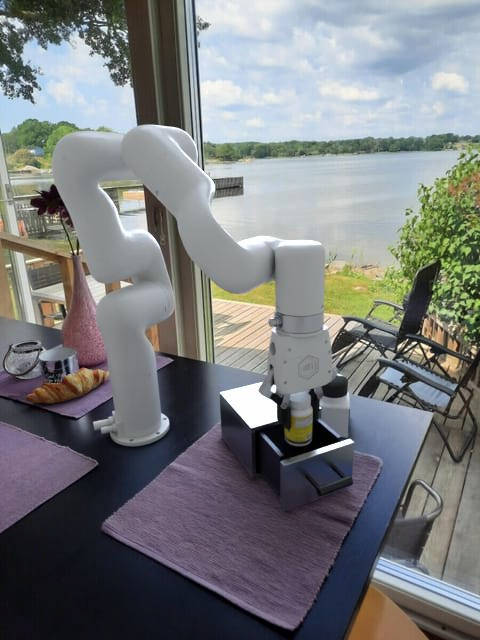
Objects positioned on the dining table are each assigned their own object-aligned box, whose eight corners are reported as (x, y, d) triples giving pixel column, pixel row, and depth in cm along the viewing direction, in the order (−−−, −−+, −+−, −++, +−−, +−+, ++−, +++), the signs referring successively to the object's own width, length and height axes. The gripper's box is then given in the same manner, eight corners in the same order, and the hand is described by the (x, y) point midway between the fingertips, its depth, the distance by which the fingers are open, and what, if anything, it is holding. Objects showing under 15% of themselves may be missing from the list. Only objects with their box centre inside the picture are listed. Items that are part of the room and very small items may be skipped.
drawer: (370, 503, 72) (373, 458, 69) (299, 532, 66) (300, 484, 64) (308, 444, 87) (309, 405, 84) (247, 464, 82) (246, 423, 79)
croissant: (106, 387, 123) (97, 360, 123) (120, 381, 115) (110, 353, 115) (26, 415, 109) (16, 384, 109) (37, 411, 101) (26, 378, 102)
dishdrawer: (320, 456, 85) (321, 408, 82) (252, 479, 79) (251, 428, 76) (282, 420, 98) (282, 377, 94) (221, 437, 92) (219, 392, 89)
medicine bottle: (348, 438, 90) (351, 386, 86) (313, 435, 92) (314, 383, 88) (347, 420, 97) (350, 370, 93) (314, 417, 98) (316, 368, 94)
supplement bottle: (282, 432, 79) (282, 390, 76) (308, 430, 79) (309, 388, 76) (287, 448, 74) (287, 404, 71) (315, 446, 74) (316, 402, 72)
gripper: (262, 337, 63) (264, 446, 69) (358, 318, 69) (352, 419, 75) (240, 322, 69) (244, 423, 75) (329, 306, 76) (326, 399, 82)
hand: (298, 419), depth 75 cm, fingers closed on supplement bottle, 4 cm apart
